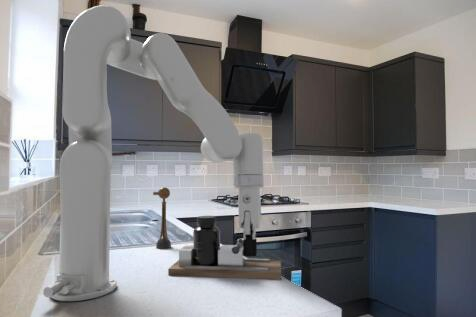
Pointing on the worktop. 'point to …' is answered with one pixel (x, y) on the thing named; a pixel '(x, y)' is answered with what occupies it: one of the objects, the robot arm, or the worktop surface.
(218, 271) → the vise base
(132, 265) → the worktop surface
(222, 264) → the block
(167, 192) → the wooden tabletop sculpture
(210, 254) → the supplement bottle
